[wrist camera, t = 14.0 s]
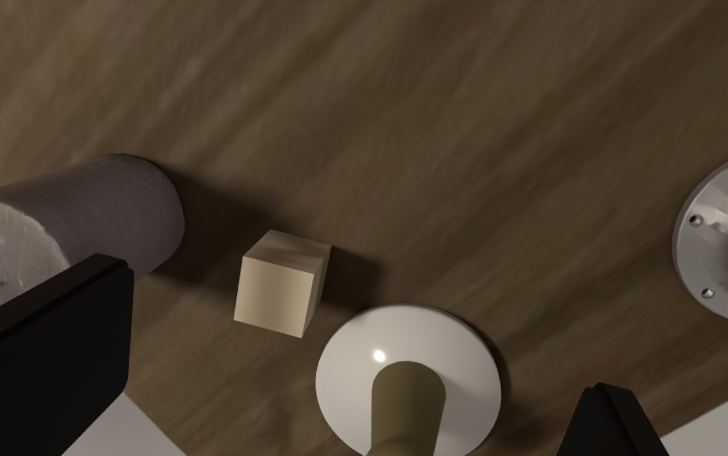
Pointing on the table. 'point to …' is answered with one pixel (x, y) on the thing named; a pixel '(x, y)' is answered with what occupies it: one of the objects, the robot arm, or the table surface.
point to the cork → (406, 410)
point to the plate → (417, 344)
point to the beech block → (282, 282)
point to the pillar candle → (87, 220)
